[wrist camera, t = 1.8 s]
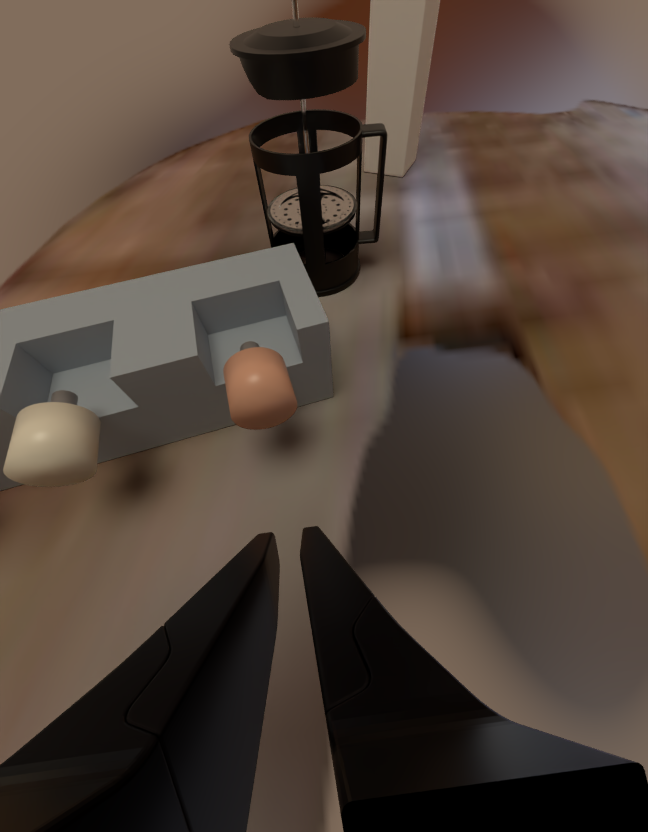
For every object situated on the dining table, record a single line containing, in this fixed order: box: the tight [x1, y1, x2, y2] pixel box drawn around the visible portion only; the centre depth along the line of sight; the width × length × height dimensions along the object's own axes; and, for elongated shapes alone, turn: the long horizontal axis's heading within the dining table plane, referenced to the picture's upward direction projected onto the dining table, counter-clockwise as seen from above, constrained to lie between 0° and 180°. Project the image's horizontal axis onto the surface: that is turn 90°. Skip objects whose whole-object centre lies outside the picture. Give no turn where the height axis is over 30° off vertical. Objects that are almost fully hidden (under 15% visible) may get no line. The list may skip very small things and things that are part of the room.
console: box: [0, 243, 333, 491], centre depth 24 cm, size 9×32×8 cm, turn 107°
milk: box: [364, 0, 440, 177], centre depth 38 cm, size 6×6×22 cm
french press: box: [230, 0, 387, 297], centre depth 26 cm, size 12×9×23 cm
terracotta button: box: [223, 341, 297, 430], centre depth 19 cm, size 5×4×4 cm
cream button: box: [3, 390, 101, 487], centre depth 17 cm, size 5×4×4 cm
